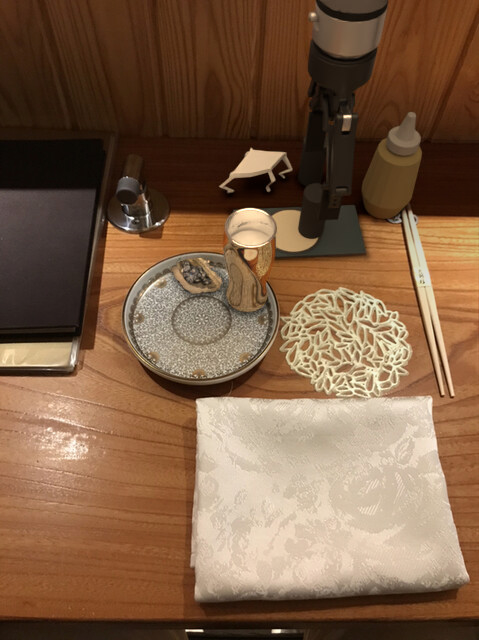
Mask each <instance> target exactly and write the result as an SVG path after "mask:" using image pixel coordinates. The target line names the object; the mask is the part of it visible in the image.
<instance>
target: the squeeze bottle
mask: <svg viewBox="0 0 479 640" xmlns="http://www.w3.org/2000/svg"><path fill="white" fill-rule="evenodd" d="M416 120H417V114H416V113H415V112H414V111H410V112H409V111H408V112H407V114H406V116H405V117H404V119H403V120H402V122H401V123H400V125H398V126H395V127H392V128H391V129H390V130H389V131H388V134H387V137H386V138H383V139H382V140H381V141H380V142H379V143H378V145H377V147H376V149H375V152H374V154H373V157H372V159H371V162H370V164H369V167H368V169H367V171H366V173H365V176H364V178H363V180H362V185H361V189H360V190H361V195H362V202H363V206H364V209H365V211H366V212H367V213H368V214H369V215H370V216H372V217H374V218H377V219H381V220H386V219H391V218H394V217H396V216H397V215H398V214H399V213H400V212H401V211H402V210H403V209H404V208H405V207H406V206H407V205H408V204H409V202H410V201H411V200H412V199H413V194H414V190H415V185H416V181H417V177H418V174H419V168H420V166H421V160H422V155H423V151H422V149H421V146H420V144H421V138H422V137H421V134H420V133H419V132H418V131H417V130H416V122H417V121H416Z"/></svg>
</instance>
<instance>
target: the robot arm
mask: <svg viewBox="0 0 479 640" xmlns="http://www.w3.org/2000/svg"><path fill="white" fill-rule="evenodd" d="M314 6H315V10H314V11H310V12H309V13H308V18H307V19H308V21H309V22H310V23H312V28H311V39H310V42H309V49H308V50H309V51H308V60H307V72H308V75H309V77H310V78H311V79H310V82H309V86H308V90H307V97H308V98H310V99H309V102H308V107H309V110H311V111H308V119H307V126H306V134H305V136H306V141H305V152H314V151H323V149H324V143H325V137H327V154H326V176H325V178H326V180H325V181H324V180H323V183H322V184H323V185H321V190H322V195H321V201H320V206H319V212H318V220H319V221H320V220H338V218H339V214H340V209H341V205H342V204H343V200H344V196H345V197H346V196H347V197H348V196H351V195H352V185H353V172H354V162H355V161H354V160H355V147H356V135H357V129H358V123H359V119H360V117H359V113H358V112H354V107H355V106H356V93H355V91H357V90H358V89H360V88H361V87H363V86H365V85H366V84H367V83H368V82H369V81H370V80H371V78H372V76H373V72H374V67H375V63H376V58H377V55H378V54H377V53H378V46H379V45H380V42H381V39H382V35H383V30H384V25H385V21H386V17H387V12H388V7H389V0H315V3H314ZM329 122H332V124H330V123H329Z"/></svg>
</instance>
